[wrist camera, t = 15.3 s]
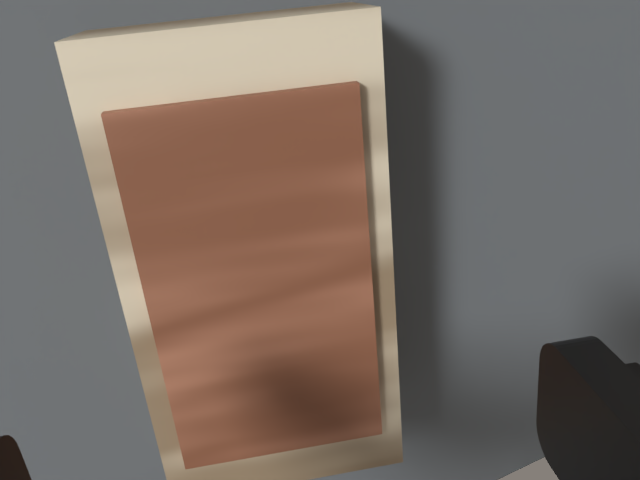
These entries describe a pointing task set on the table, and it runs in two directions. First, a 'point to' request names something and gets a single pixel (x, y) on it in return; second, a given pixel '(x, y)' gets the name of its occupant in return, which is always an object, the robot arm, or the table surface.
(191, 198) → the card box
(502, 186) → the mat
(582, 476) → the robot arm
